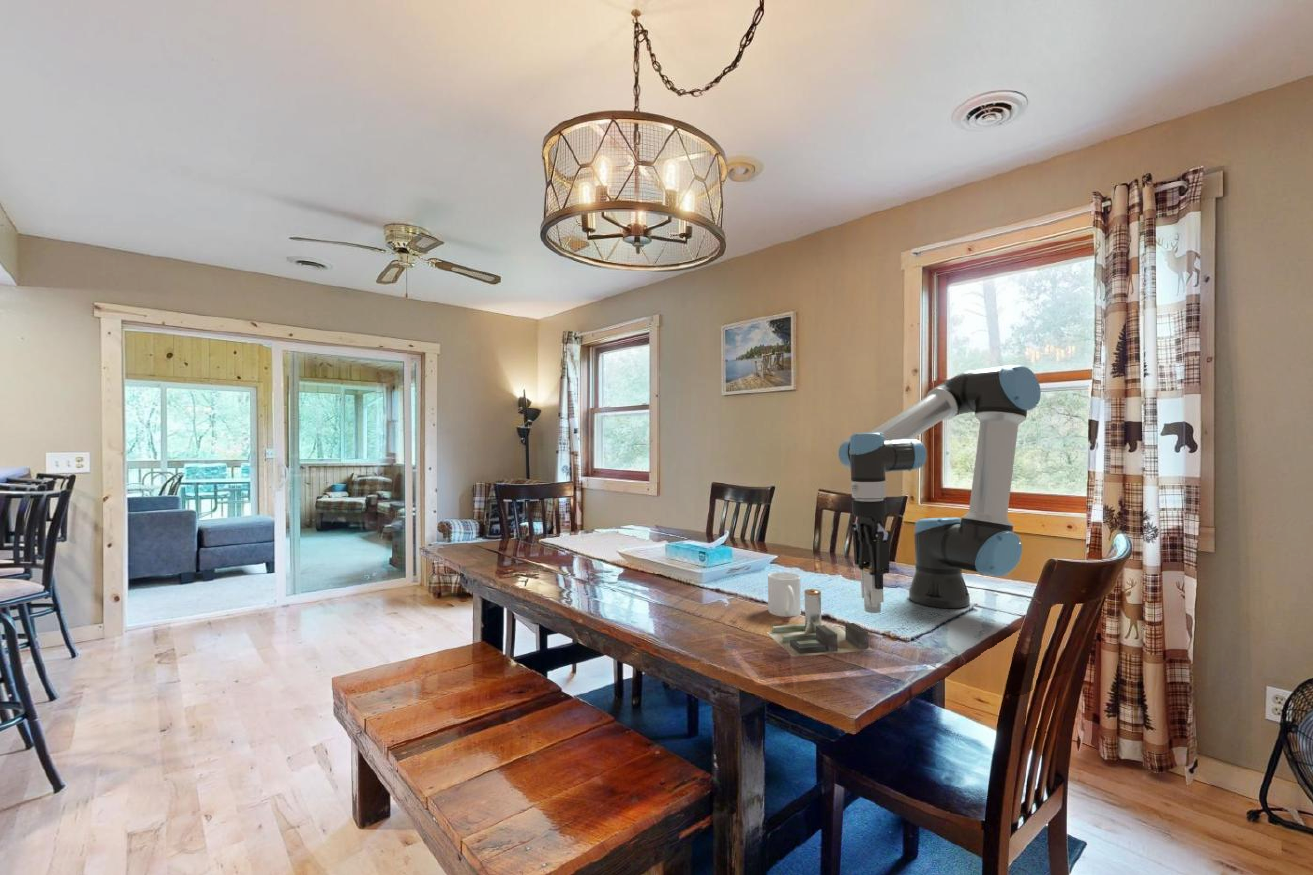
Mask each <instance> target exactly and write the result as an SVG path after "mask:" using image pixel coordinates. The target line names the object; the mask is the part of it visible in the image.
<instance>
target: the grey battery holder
mask: <svg viewBox="0 0 1313 875" xmlns="http://www.w3.org/2000/svg"><path fill="white" fill-rule="evenodd" d="M844 629H845V630H844ZM844 629H843V628H841V627H839V626H832V627H828V626H826V625H825V624H823V625H822V624H821V625H819V626H816V633H809V634H805V623H802V624H788V625H786V624H785V625H774V626H772V627H771V631H767V632H766V633H765V634H767V635H768V636H769V637H770V638H771V639H773V640H774V642H776V643H777V644H778V645H779V646H780V647H781V648H782V649H783V650H784V651H785V652H787V653H788V655H790V656H791V657H792V658H794V657H806V656H807V657H808V656H817V655H820V656H821V655H830V654H832V655H833V654H842V653H843V654H844V653H851V652H852V653H854V652H865V651H866V652H869V651H873V649H872V648H871V647H870V646H869V631H867V630H866V629H864V628H862V627H860V626H859V624H858V625H857V624H856V623H855V622H848V623H844Z"/></svg>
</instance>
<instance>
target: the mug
mask: <svg viewBox="0 0 1313 875" xmlns="http://www.w3.org/2000/svg"><path fill="white" fill-rule="evenodd" d="M801 584H802V581H801V575H799V574H798V573H793V572H786V571H777V572H776V571H775V572H772V573H768V574H767V595H768V598H767V601H768V604H767V606H768V607H767V608H768V613H769V614H771V615H772V616H773V615H774V616H778V617H785V618H786V617H788V618H789V617H790V618H791V617H797V616H799V615H801V614H802V599H801V598H802V588H801V587H802V585H801Z"/></svg>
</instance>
